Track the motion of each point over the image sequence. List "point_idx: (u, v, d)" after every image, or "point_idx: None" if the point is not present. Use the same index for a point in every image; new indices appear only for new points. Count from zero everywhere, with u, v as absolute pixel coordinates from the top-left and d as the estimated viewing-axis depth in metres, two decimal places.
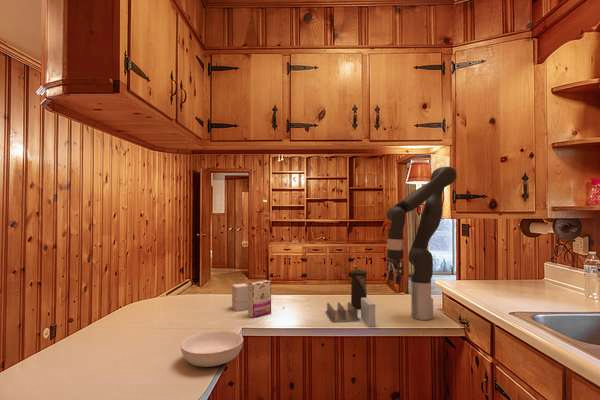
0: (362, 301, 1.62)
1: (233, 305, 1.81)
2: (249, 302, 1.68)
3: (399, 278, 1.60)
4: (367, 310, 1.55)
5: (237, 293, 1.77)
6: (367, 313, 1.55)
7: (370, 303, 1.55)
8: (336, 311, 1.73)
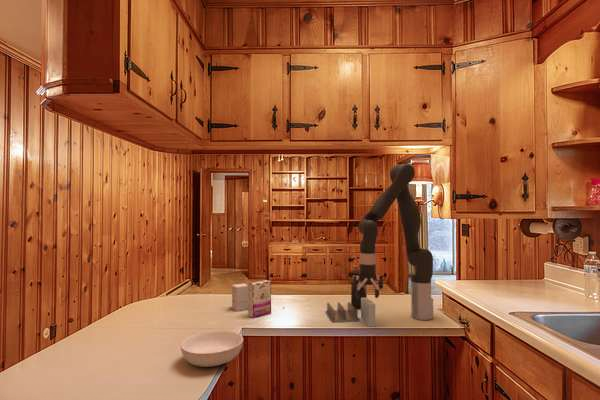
0: (362, 301, 1.62)
1: (233, 306, 1.81)
2: (249, 302, 1.68)
3: None
4: (367, 310, 1.55)
5: (237, 293, 1.77)
6: (367, 313, 1.55)
7: (370, 303, 1.55)
8: (336, 311, 1.73)
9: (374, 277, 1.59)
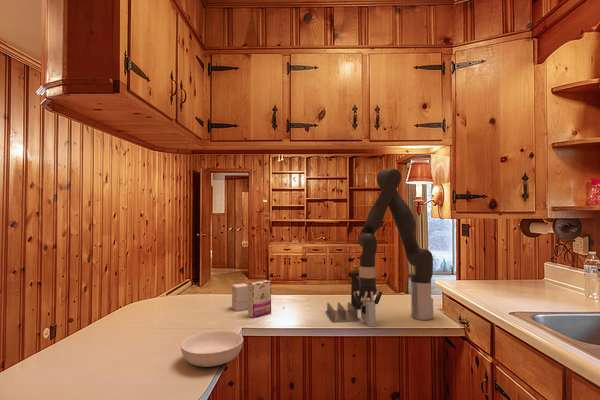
0: None
1: (233, 306, 1.81)
2: (249, 302, 1.68)
3: None
4: (367, 310, 1.55)
5: (237, 293, 1.77)
6: (367, 313, 1.55)
7: (370, 303, 1.55)
8: (336, 311, 1.73)
9: (374, 290, 1.59)
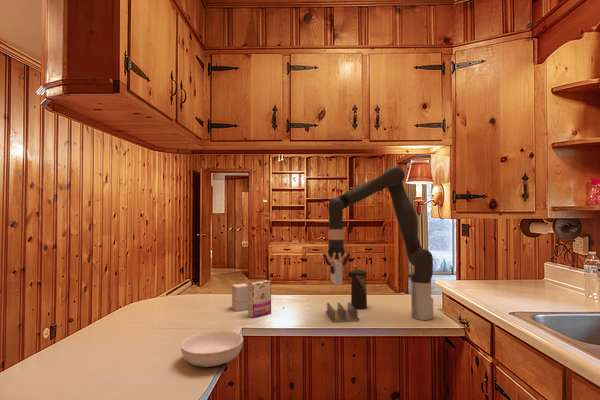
0: None
1: (233, 306, 1.81)
2: (249, 302, 1.68)
3: None
4: (335, 269, 1.64)
5: (237, 293, 1.77)
6: (335, 272, 1.64)
7: (337, 263, 1.64)
8: (336, 311, 1.73)
9: (342, 252, 1.68)
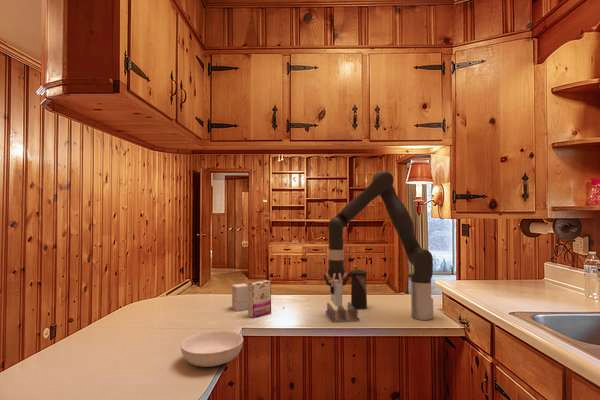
0: None
1: (233, 306, 1.81)
2: (249, 302, 1.68)
3: None
4: (335, 290, 1.63)
5: (237, 293, 1.77)
6: (335, 293, 1.63)
7: (337, 283, 1.63)
8: (336, 311, 1.73)
9: (342, 272, 1.67)
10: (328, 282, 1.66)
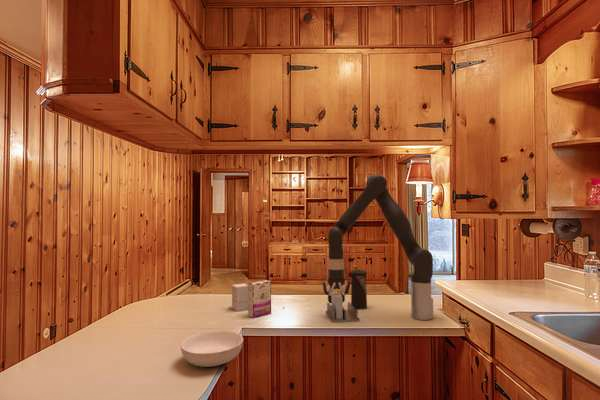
0: (332, 294, 1.71)
1: (233, 306, 1.81)
2: (249, 302, 1.68)
3: None
4: (335, 303, 1.63)
5: (237, 293, 1.77)
6: (335, 306, 1.63)
7: (338, 296, 1.63)
8: None
9: (342, 281, 1.67)
10: (326, 291, 1.66)
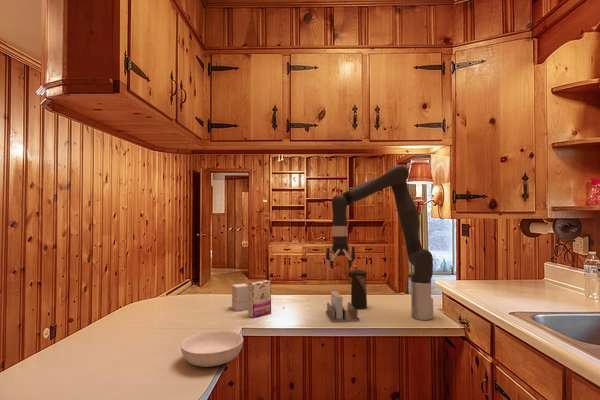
0: (332, 294, 1.71)
1: (233, 306, 1.81)
2: (249, 302, 1.68)
3: None
4: (335, 303, 1.63)
5: (237, 293, 1.77)
6: (335, 306, 1.63)
7: (338, 296, 1.63)
8: None
9: (346, 248, 1.68)
10: (328, 256, 1.67)
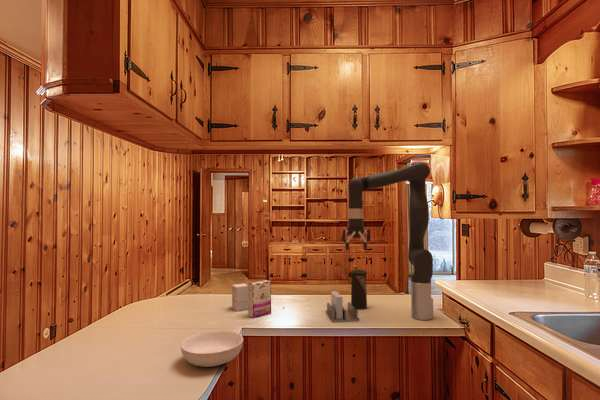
0: (332, 294, 1.71)
1: (233, 306, 1.81)
2: (249, 302, 1.68)
3: None
4: (335, 303, 1.63)
5: (237, 293, 1.77)
6: (335, 306, 1.63)
7: (338, 296, 1.63)
8: None
9: (362, 231, 1.71)
10: (344, 238, 1.70)
